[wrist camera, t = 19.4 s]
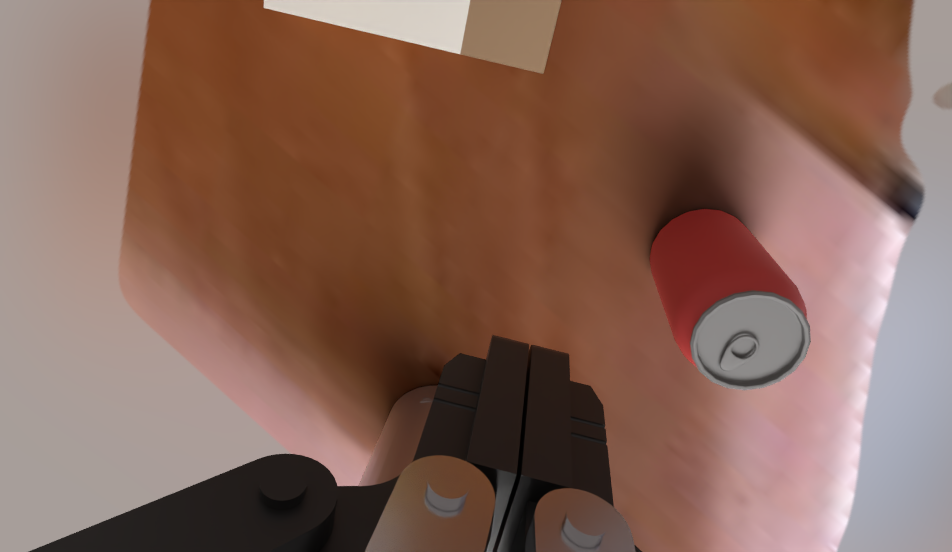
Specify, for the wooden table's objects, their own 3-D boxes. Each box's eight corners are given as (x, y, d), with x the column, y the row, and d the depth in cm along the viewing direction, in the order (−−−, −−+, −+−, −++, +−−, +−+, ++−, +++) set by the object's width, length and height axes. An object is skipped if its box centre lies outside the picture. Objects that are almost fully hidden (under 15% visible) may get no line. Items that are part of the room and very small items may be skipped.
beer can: (628, 265, 41) (652, 357, 30) (690, 186, 38) (742, 257, 27) (706, 313, 42) (757, 420, 31) (773, 239, 39) (854, 328, 28)
